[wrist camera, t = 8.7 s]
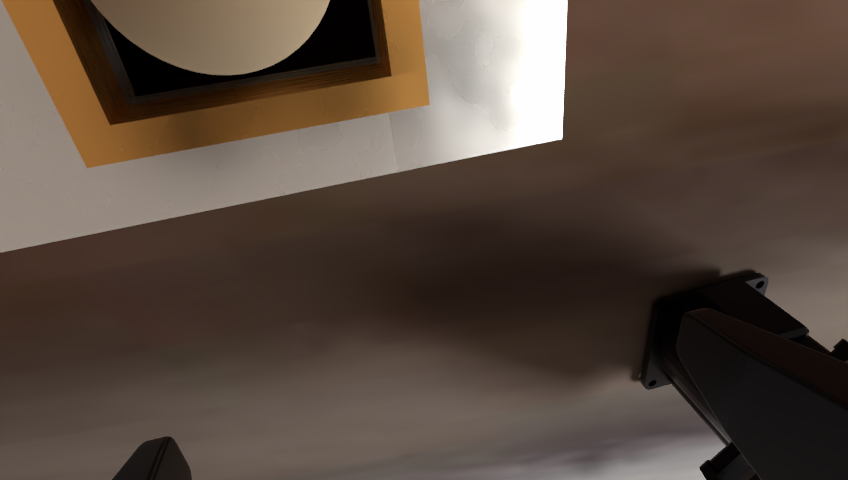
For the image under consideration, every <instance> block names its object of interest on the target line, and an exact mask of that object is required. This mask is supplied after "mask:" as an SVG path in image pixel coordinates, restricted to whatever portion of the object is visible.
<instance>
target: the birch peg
mask: <svg viewBox="0 0 848 480" xmlns="http://www.w3.org/2000/svg"><path fill="white" fill-rule="evenodd" d="M91 1H92V3H93V4H94V5H95V6H96V8H97V9H98V10H99V12H100V13H101V14H102V15H103V16H104V17H105V18H106V19H107V20H108V21H109V22H110V23H111V24H112V25H113V26H114V27H115V28H116V29H117V30H118V31H119V32H120V33H122V34H123V35H124V36H125V37H126V38H127V39H129V40H130V41H131V42H133V43H134V44H136V45H137V46H138V47H140V48H141V49H143V50H144V51H146V52H147V53H149V54H151V55H153V56H155V57H157V58H159V59H160V60H162V61H165V62H167V63H170V64H172V65H174V66H177V67H179V68H183V69H187V70H190V71H194V72H198V73H204V74H211V75H238V74H246V73H250V72H255V71H259V70H262V69H264V68H267V67H269V66H272V65H274V64H276V63H278V62H280V61H281V60H283V59H285V58H287V57H288V56H289V55H291V54H292V53H293V52H295V51H296V50H297V49H298V48H299V47H300V46H301V45H302V44H303V43H304V42H305V41H306V40H307V39H308V38H309V37H310V36H311V34H312V33H313V32H314V30H315V29H316V28H317V26H318V25H319V23H320V21H321V19H322V17H323V15H324V14H325V12H326V9H327V7H328V4H329V1H330V0H91Z"/></svg>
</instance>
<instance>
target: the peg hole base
mask: <svg viewBox="0 0 848 480" xmlns="http://www.w3.org/2000/svg"><path fill="white" fill-rule="evenodd" d="M367 3H368V9H369V16H370V22H371V28H372V35H373V41H374V48H375V54H376V56H375V57H369V58H363V59H357V60H352V61H346V62H340V63H334V64H328V65H322V66H316V67H310V68H304V69H298V70H292V71H286V72H280V73H274V74H268V75H262V76H256V77H250V78H244V79H238V80H232V81H226V82H220V83H214V84H208V85H202V86H196V87H190V88H184V89H178V90H172V91H167V92H161V93H155V94H149V95H143V96H136V94H135V92H134V89H133V87H132V84H131V82H130V80H129V77H128V75H127V72H126V70H125V68H124V65H123V63H122V60H121V58H120V56H119V53H118V51H117V48H116V46H115V44H114V41H113V39H112V36H111V34H110V32H109V29H108V27H107V24H106V22H105V20H104V17H103V15H102V14H101V13H100V12H99V10H98V9H97V8H96V6H95V5H94V4H93V3H92V1H91V0H0V253H1V252H6V251H11V250H16V249H21V248H26V247H31V246H36V245H41V244H46V243H51V242H55V241H60V240H65V239H70V238H75V237H80V236H85V235H90V234H95V233H100V232H105V231H110V230H115V229H120V228H125V227H129V226H134V225H139V224H144V223H149V222H154V221H159V220H164V219H169V218H174V217H179V216H184V215H189V214H194V213H199V212H203V211H208V210H213V209H218V208H223V207H228V206H233V205H238V204H243V203H248V202H253V201H258V200H263V199H268V198H273V197H278V196H282V195H287V194H292V193H297V192H302V191H307V190H312V189H317V188H322V187H327V186H332V185H337V184H342V183H347V182H352V181H356V180H361V179H366V178H371V177H376V176H381V175H386V174H391V173H396V172H401V171H406V170H411V169H416V168H421V167H426V166H430V165H435V164H440V163H445V162H450V161H455V160H460V159H465V158H470V157H475V156H480V155H485V154H490V153H495V152H500V151H505V150H509V149H514V148H519V147H524V146H529V145H534V144H539V143H544V142H549V141H554V140H559V139H562V126H563V101H564V75H565V50H566V24H567V0H367Z"/></svg>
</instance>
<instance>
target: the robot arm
mask: <svg viewBox="0 0 848 480" xmlns="http://www.w3.org/2000/svg"><path fill="white" fill-rule="evenodd" d="M767 285H768V278H767V277H765V276H764V275H762V274H761V273H755V274H751V275H747V276H743V277H739V278H735V279H732V280H728V281H724V282H720V283H716V284H712V285H709V286H705V287H701V288H697V289H693V290H689V291H685V292H682V293H678V294H674V295H670V296H666V297H663V298H660V299H659V300H657V301H656V303H655V304H654V306H653V311H652V317H651V323H650V328H649V334H648V340H647V346H646V351H645V357H644V363H643V369H642V375H641V380H640V381H641V383H642V385H643V386H644V387H645V388H646V389H648V390H649V389H654V388H657V387H661V386H664V385H668V384H672V385H673V386H674V387H675V388H676V389H677V391H678V392H679V393H680V394H681V395H682V396H683V397H684V399H685V400H686V401H687V402H688V403H689V404H690V405H691V407H692V408H693V409H694V410H695V411H696V412H697V413H698V415H699V416H700V417H701V418H702V419H703V420H704V421H705V423H706V424H707V425H708V426H709V427H710V428H711V429H712V431H713V432H714V433H715V434H716V435H717V436H718V437H719V438H720V440H721V441H722V442H723V443H724V444H725V445H726V447H725V448H724V449H722V450H721V451H720V452H719V453H718V454H717V455H716V456H715V457H713V458H712V459H711V460H707V461H706V462H705V463H703V464H702V465H701V466H700V470H701V472H702V473H703V475H704V477H705V478H706V480H848V341H846V340H845V339H841V340H840V341H839V342H838V343H837V344H836V345H835V346H834V348H835V349H834V350H833V351H832V352H830V351H828V350H827V349H826V348H825V347H823V346H822V345H821V344H819V343H818V342H817V341H815V340H814V339H813V338H811V337H810V336H809V335H808V334H809V330H808V329H807V327H805V326H804V325H803V324H802V323H800V322H799V321H798V320H796V319H795V318H793V317H792V316H791V315H789V314H788V313H787V312H785V311H784V310H783V309H781V308H780V307H779V306H777V305H776V304H775V303H773V302H772V301H770V300H769V299H768V298H766V297H765V296H764V294H765V291H766V288H767ZM112 480H192V477H191V471H190V468H189V465H188V463H187V462H186V460H185V458H184V456H183V454H182V453H181V451H180V449H179V447H178V445H177V443H176V442H175V440H174V439H173V438H172V437H162V438H158V439H154V440H150V441H146V442H144V443H143V444H141V445H140V446H139V447H138V448H137V450H136V451H135V452H134V453H133V455H132V456H131V457H130V458H129V459H128V461H127V462H126V463H125V464H124V466H123V467H122V468H121V469H120V471H119V472H118V473H117V474H116V476H115V477H114V478H113V479H112Z"/></svg>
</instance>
